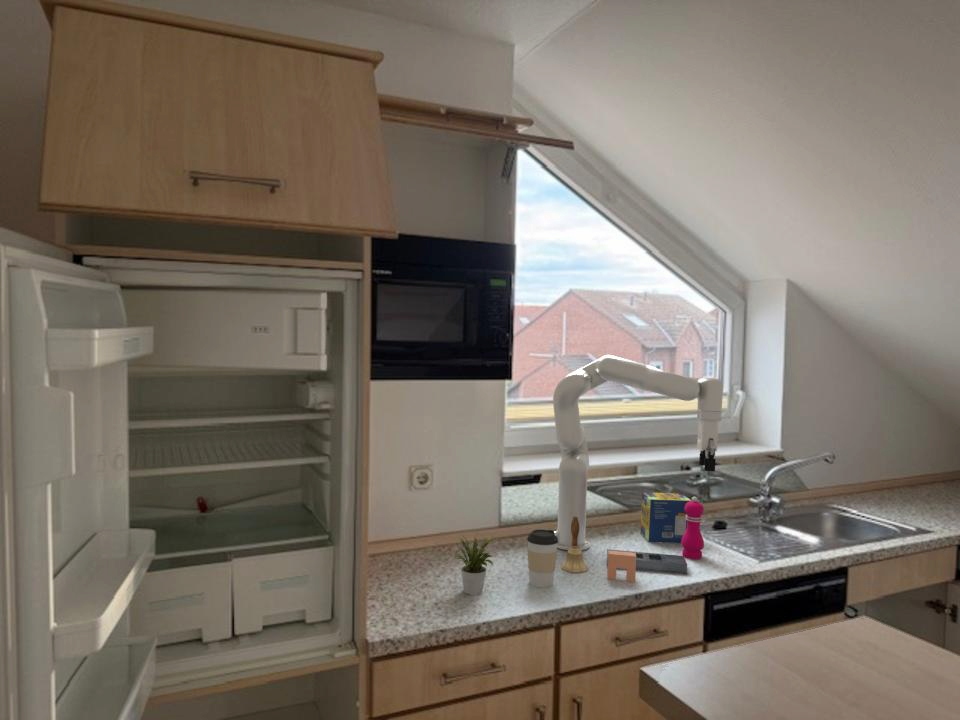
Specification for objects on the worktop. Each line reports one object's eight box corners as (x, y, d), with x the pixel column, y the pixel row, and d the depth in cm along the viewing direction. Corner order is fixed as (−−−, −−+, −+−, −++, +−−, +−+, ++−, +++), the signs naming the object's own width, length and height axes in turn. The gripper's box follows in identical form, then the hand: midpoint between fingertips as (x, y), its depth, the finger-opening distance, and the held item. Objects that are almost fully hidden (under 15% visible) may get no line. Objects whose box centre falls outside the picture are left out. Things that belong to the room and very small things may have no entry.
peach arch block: (607, 578, 193) (608, 553, 193) (607, 575, 197) (608, 550, 196) (635, 581, 192) (636, 556, 192) (634, 577, 195) (635, 552, 195)
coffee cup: (534, 590, 183) (536, 537, 182) (520, 579, 191) (521, 528, 190) (562, 586, 186) (564, 534, 186) (547, 575, 195) (548, 525, 194)
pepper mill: (704, 560, 212) (707, 500, 212) (681, 558, 214) (684, 498, 213) (702, 553, 219) (704, 495, 219) (679, 551, 221) (682, 493, 220)
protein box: (639, 533, 241) (641, 492, 240) (680, 534, 241) (682, 493, 241) (647, 542, 230) (649, 499, 230) (691, 543, 231) (692, 500, 230)
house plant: (441, 601, 173) (443, 540, 173) (444, 581, 187) (445, 525, 186) (495, 602, 173) (497, 542, 173) (493, 583, 187) (495, 526, 187)
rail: (607, 566, 204) (607, 557, 204) (606, 558, 212) (607, 549, 212) (686, 574, 200) (687, 564, 200) (683, 565, 207) (683, 556, 207)
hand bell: (563, 573, 197) (565, 520, 197) (558, 563, 206) (560, 513, 205) (590, 573, 198) (592, 521, 197) (584, 563, 206) (586, 513, 206)
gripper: (693, 412, 222) (690, 462, 222) (701, 418, 205) (699, 472, 205) (716, 413, 221) (713, 464, 221) (726, 419, 204) (724, 474, 204)
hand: (706, 468), depth 213 cm, fingers open, 9 cm apart
